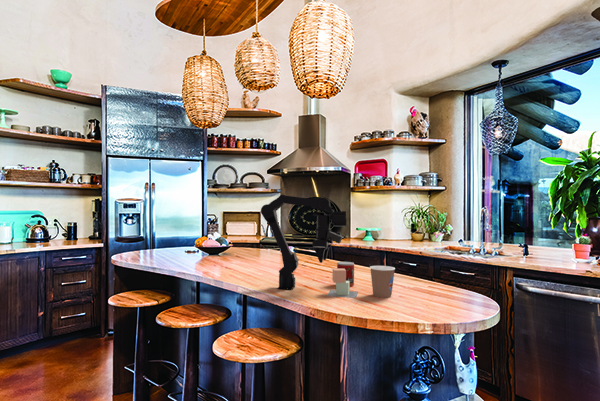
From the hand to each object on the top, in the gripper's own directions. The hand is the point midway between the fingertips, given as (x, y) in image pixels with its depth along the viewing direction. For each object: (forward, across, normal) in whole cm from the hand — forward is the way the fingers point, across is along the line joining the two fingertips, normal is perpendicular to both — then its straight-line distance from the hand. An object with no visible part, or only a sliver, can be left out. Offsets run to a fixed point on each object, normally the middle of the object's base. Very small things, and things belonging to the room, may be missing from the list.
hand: (322, 261), depth 163 cm
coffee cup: (+13, -6, -26) cm, 29 cm away
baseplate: (+12, -8, -10) cm, 18 cm away
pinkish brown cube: (+7, -8, -8) cm, 14 cm away
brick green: (+12, -8, -10) cm, 17 cm away
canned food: (+13, +10, -9) cm, 19 cm away
